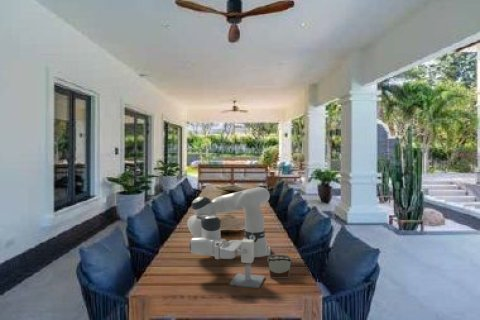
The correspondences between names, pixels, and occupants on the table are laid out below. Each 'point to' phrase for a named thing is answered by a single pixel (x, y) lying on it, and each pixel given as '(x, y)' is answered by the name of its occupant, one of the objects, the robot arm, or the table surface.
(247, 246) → the tall white pillar
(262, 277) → the post stand
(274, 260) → the food container
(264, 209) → the table surface
